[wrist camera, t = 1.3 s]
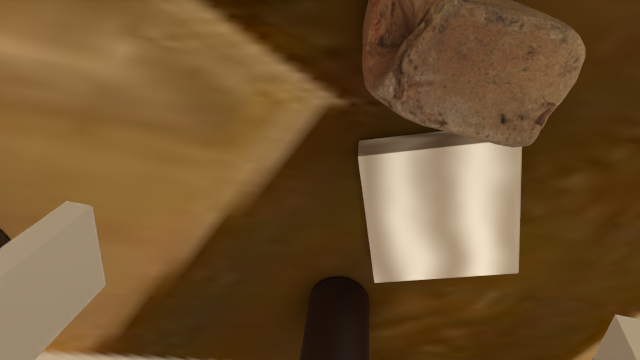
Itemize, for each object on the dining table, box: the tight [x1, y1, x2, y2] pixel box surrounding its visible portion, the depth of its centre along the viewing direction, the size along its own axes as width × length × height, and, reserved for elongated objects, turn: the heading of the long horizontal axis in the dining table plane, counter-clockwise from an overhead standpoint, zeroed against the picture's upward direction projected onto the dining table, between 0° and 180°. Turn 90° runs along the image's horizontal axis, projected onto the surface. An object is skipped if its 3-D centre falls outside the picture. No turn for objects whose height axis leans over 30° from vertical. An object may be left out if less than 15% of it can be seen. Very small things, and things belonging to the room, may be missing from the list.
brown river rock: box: [362, 0, 585, 148], centre depth 31 cm, size 11×8×20 cm
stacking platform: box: [358, 131, 522, 283], centre depth 46 cm, size 14×14×4 cm
